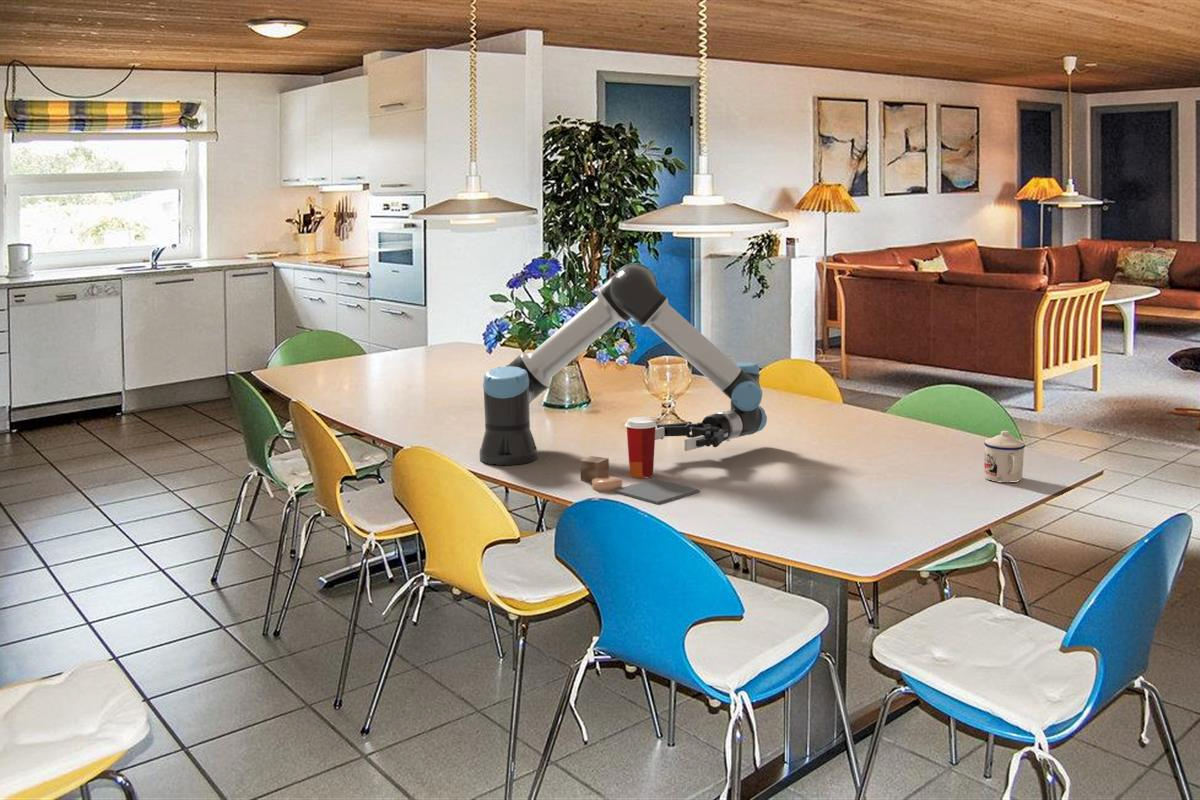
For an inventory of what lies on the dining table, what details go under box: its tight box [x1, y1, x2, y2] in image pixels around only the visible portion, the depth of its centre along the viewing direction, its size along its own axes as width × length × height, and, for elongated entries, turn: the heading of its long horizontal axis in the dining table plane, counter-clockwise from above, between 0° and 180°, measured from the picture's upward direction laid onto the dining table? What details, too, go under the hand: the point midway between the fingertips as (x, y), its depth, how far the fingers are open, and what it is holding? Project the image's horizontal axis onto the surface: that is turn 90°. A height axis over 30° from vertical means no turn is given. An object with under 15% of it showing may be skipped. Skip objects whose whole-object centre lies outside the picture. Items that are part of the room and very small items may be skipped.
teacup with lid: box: [983, 430, 1026, 482], centre depth 265 cm, size 12×9×12 cm
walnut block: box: [579, 455, 610, 483], centre depth 273 cm, size 5×5×5 cm
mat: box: [613, 477, 700, 505], centre depth 262 cm, size 14×14×1 cm
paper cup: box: [624, 416, 658, 479], centre depth 275 cm, size 8×8×14 cm
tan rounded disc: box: [591, 476, 623, 493], centre depth 266 cm, size 7×7×2 cm
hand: (665, 441), depth 280 cm, fingers open, 13 cm apart
